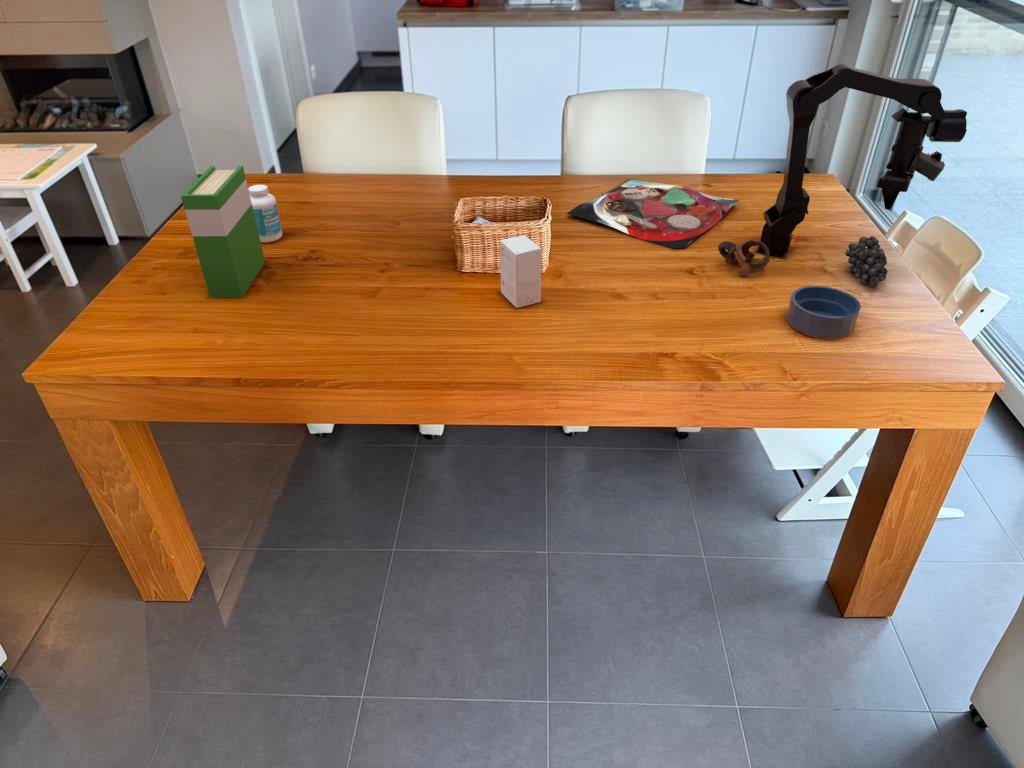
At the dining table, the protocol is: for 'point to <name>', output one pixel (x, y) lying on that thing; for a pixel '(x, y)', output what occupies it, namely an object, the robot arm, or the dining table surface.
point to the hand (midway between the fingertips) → (888, 207)
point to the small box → (520, 270)
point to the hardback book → (224, 231)
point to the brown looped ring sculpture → (744, 255)
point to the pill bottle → (265, 213)
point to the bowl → (823, 312)
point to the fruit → (867, 261)
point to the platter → (656, 212)
